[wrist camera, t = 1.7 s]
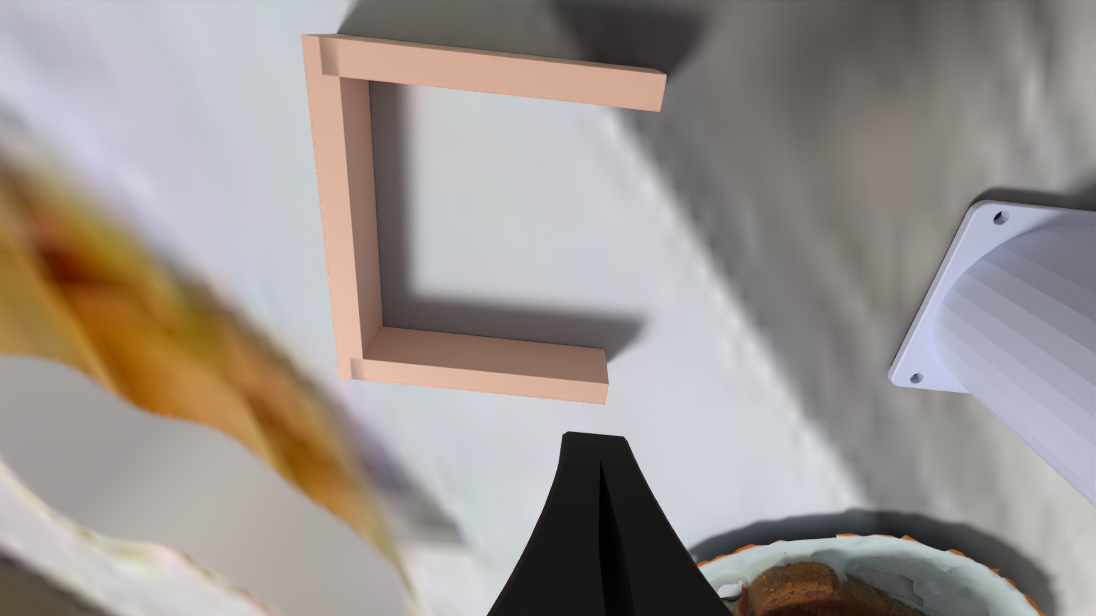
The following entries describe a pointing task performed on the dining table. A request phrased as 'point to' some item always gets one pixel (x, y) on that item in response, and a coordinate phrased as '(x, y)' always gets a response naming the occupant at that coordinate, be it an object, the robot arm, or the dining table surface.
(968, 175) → the dining table surface
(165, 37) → the dining table surface
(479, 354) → the terracotta bay
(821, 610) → the food on plate
